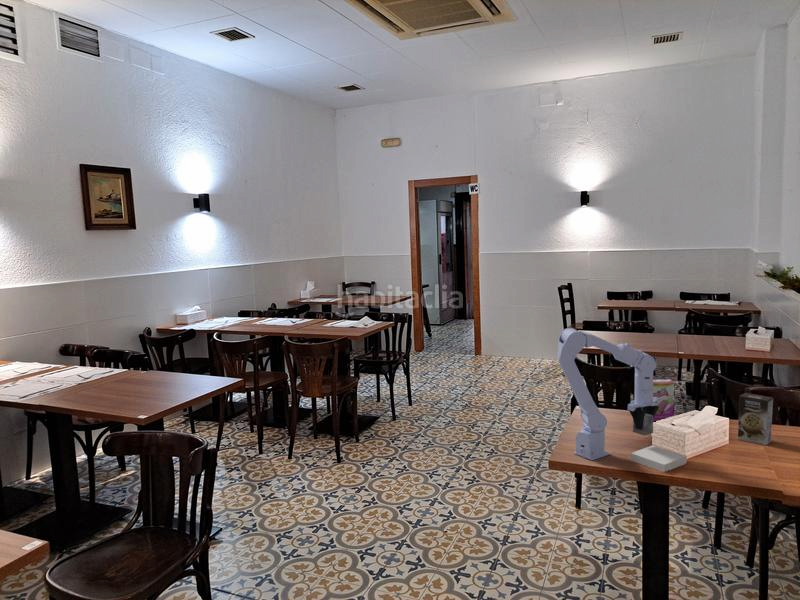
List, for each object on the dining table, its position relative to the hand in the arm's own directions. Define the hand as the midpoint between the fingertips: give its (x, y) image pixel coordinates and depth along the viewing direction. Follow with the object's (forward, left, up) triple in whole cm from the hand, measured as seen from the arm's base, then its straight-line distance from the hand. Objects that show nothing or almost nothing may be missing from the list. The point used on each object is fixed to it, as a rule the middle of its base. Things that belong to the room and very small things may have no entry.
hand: (643, 427), depth 192 cm
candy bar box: (+34, +17, -9) cm, 39 cm away
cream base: (-3, -8, -9) cm, 12 cm away
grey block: (0, 0, -2) cm, 2 cm away
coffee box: (+41, -16, -9) cm, 45 cm away
